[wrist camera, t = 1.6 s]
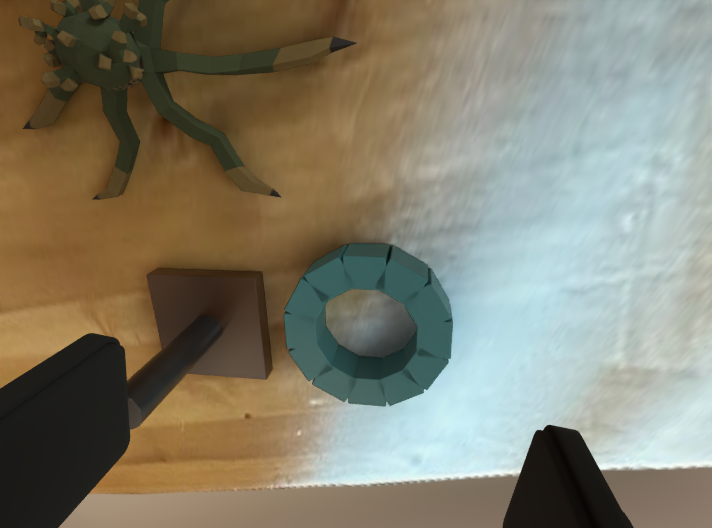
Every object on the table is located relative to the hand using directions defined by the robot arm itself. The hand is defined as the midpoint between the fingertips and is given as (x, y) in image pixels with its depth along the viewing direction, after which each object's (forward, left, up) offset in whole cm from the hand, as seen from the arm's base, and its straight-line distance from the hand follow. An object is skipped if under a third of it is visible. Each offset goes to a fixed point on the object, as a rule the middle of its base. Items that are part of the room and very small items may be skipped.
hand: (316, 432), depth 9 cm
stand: (+14, +9, -21) cm, 27 cm away
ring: (+1, +8, -21) cm, 23 cm away
